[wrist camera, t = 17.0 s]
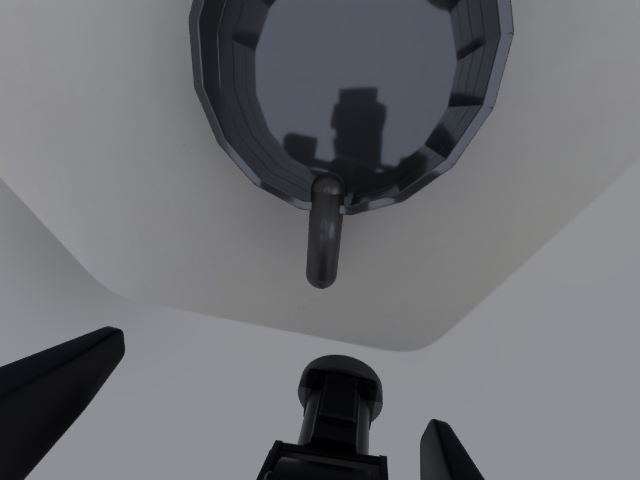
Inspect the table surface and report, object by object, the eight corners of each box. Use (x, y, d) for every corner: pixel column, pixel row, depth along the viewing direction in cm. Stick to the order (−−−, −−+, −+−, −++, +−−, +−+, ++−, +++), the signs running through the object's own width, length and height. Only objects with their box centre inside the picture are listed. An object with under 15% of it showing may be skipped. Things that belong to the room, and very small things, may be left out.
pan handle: (337, 280, 19) (333, 296, 17) (308, 276, 19) (302, 292, 18) (348, 170, 16) (345, 177, 15) (315, 167, 16) (308, 173, 15)
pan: (444, 206, 19) (461, 228, 15) (234, 182, 20) (203, 197, 17) (517, -95, 13) (570, -174, 10) (222, -92, 15) (172, -157, 11)
